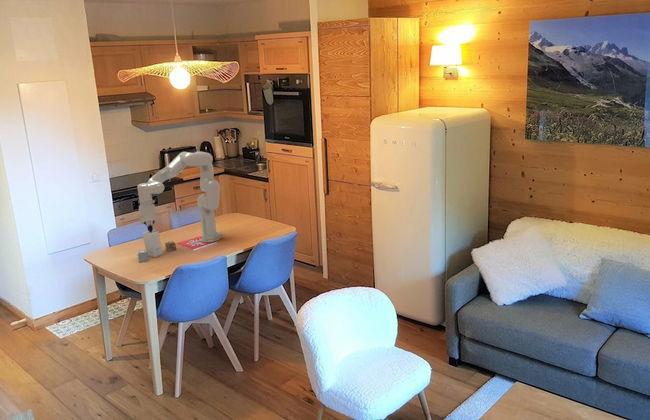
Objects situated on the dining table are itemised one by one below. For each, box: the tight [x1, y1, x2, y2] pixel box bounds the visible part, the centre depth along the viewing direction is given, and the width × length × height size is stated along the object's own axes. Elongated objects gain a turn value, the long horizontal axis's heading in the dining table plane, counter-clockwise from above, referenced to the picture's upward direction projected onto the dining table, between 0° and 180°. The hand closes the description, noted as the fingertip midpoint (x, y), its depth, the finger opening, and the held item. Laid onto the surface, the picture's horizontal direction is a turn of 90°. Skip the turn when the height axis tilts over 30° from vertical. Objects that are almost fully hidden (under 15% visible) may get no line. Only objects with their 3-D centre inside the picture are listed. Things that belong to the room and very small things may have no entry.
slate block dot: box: [137, 249, 149, 263], centre depth 345 cm, size 5×5×6 cm
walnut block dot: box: [164, 240, 177, 252], centre depth 362 cm, size 5×5×5 cm
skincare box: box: [142, 230, 163, 258], centre depth 352 cm, size 8×7×16 cm
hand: (150, 231), depth 350 cm, fingers closed
